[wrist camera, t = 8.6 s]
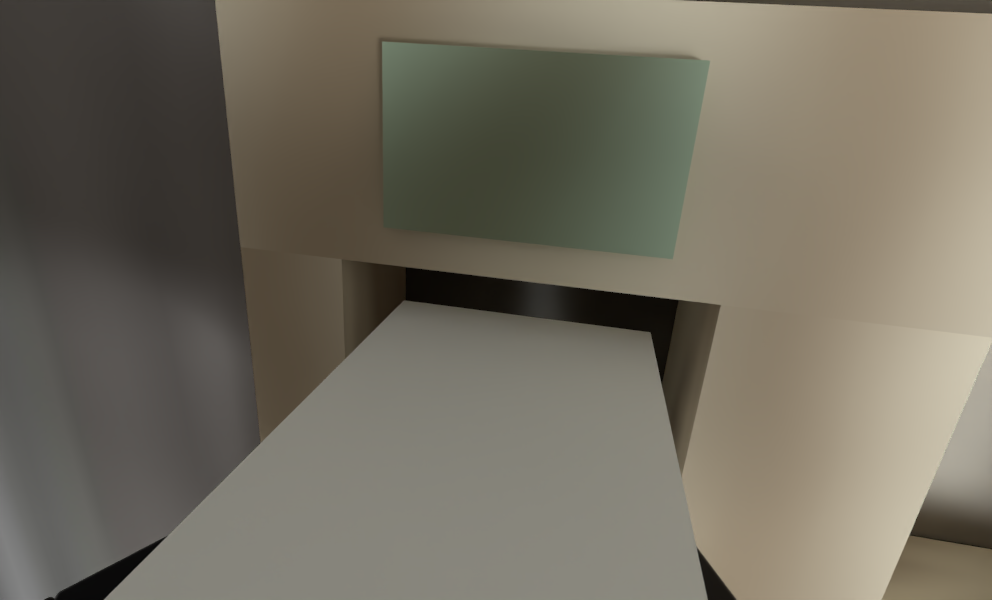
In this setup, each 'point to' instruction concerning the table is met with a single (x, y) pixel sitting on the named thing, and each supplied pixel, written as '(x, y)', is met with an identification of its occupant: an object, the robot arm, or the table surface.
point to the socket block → (656, 232)
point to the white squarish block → (452, 476)
